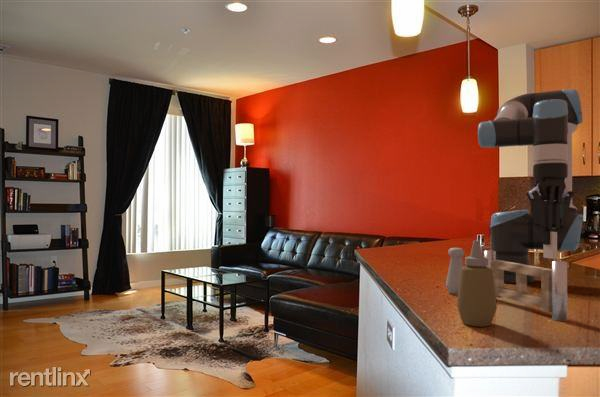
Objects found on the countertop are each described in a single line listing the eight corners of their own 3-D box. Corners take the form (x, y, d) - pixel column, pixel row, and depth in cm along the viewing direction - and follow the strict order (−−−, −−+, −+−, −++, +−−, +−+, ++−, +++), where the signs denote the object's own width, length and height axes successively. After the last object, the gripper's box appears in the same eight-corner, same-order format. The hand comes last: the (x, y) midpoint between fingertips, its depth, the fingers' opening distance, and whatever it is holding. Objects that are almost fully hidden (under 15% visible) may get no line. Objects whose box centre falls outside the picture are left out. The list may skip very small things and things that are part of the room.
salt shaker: (468, 295, 126) (468, 249, 126) (447, 294, 127) (447, 248, 127) (465, 291, 132) (465, 247, 132) (444, 290, 133) (444, 246, 133)
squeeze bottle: (450, 319, 101) (450, 239, 101) (485, 318, 102) (485, 239, 102) (467, 329, 93) (466, 242, 93) (504, 328, 94) (504, 242, 94)
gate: (492, 296, 120) (492, 260, 120) (498, 295, 121) (498, 259, 121) (548, 312, 103) (548, 270, 103) (555, 311, 103) (555, 269, 103)
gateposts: (481, 298, 123) (481, 250, 123) (490, 297, 124) (490, 250, 124) (560, 321, 99) (559, 262, 99) (570, 320, 100) (570, 262, 100)
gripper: (557, 165, 118) (557, 255, 117) (517, 163, 113) (517, 257, 113) (583, 162, 110) (583, 259, 110) (541, 160, 106) (541, 260, 106)
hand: (550, 258), depth 112 cm, fingers closed
